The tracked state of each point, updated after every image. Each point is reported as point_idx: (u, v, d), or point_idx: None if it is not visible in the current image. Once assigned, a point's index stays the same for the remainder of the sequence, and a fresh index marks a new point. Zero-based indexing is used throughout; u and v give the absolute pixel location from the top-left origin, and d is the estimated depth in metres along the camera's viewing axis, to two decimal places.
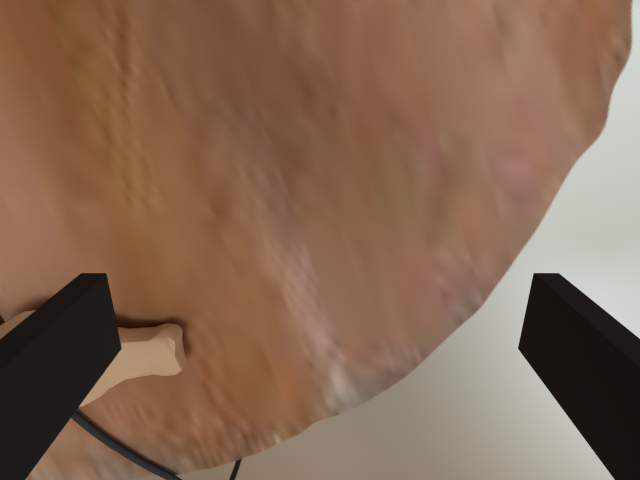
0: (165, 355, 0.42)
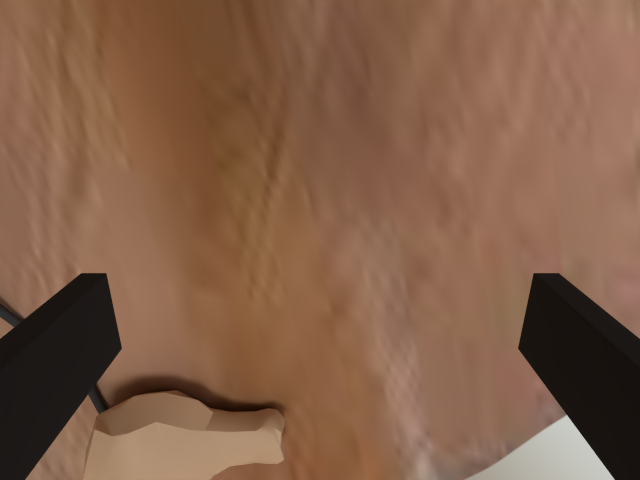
0: (272, 445, 0.42)
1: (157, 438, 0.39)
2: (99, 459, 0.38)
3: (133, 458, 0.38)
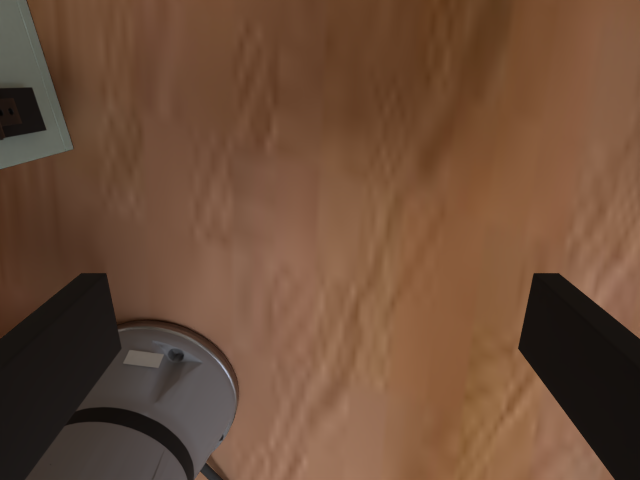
0: None
1: None
2: None
3: None
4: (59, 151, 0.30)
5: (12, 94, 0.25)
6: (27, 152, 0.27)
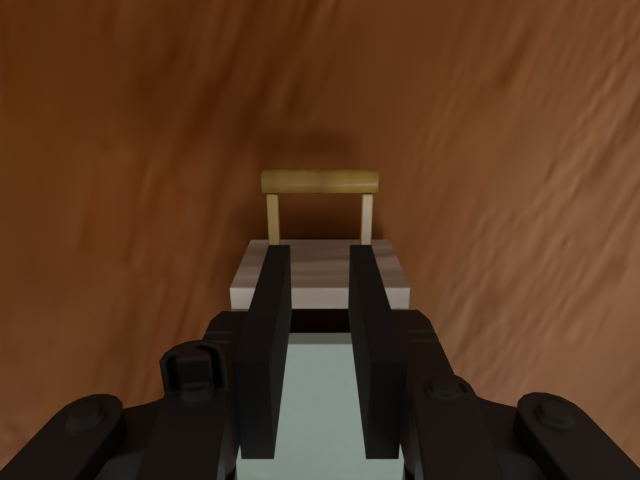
0: None
1: None
2: None
3: None
4: None
5: None
6: None
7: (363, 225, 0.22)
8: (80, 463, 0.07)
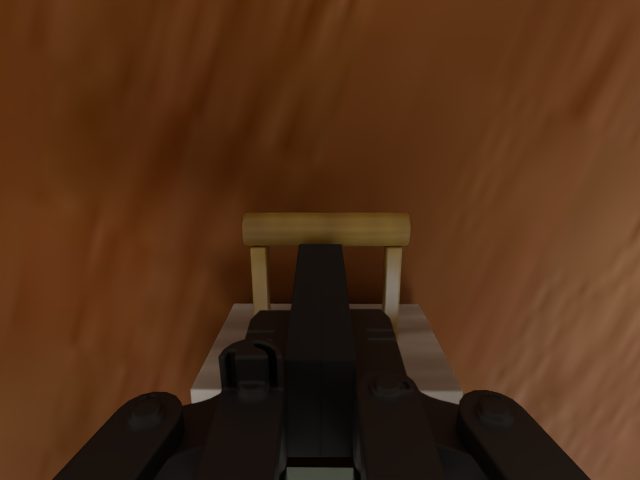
0: None
1: None
2: None
3: None
4: None
5: None
6: None
7: (387, 291, 0.16)
8: (142, 462, 0.07)
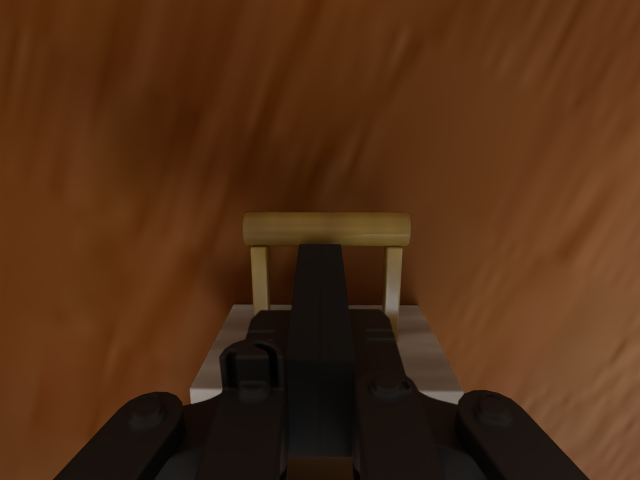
0: None
1: None
2: None
3: None
4: None
5: None
6: None
7: (388, 291, 0.16)
8: (143, 462, 0.07)
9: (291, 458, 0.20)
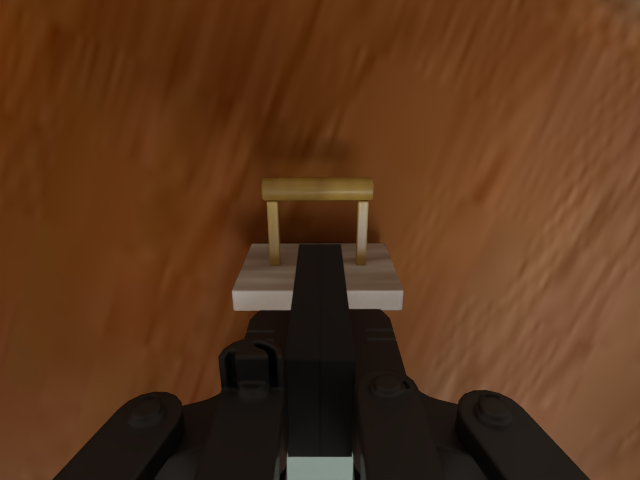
0: None
1: None
2: None
3: None
4: None
5: None
6: None
7: (359, 230, 0.23)
8: (142, 462, 0.07)
9: None
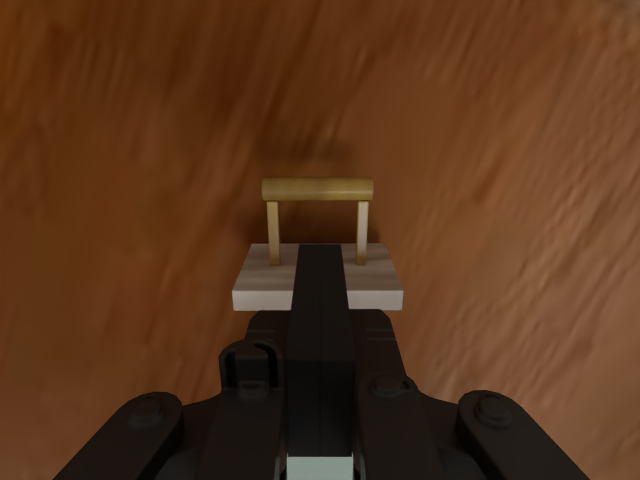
0: None
1: None
2: None
3: None
4: None
5: None
6: None
7: (359, 230, 0.23)
8: (142, 462, 0.07)
9: None
